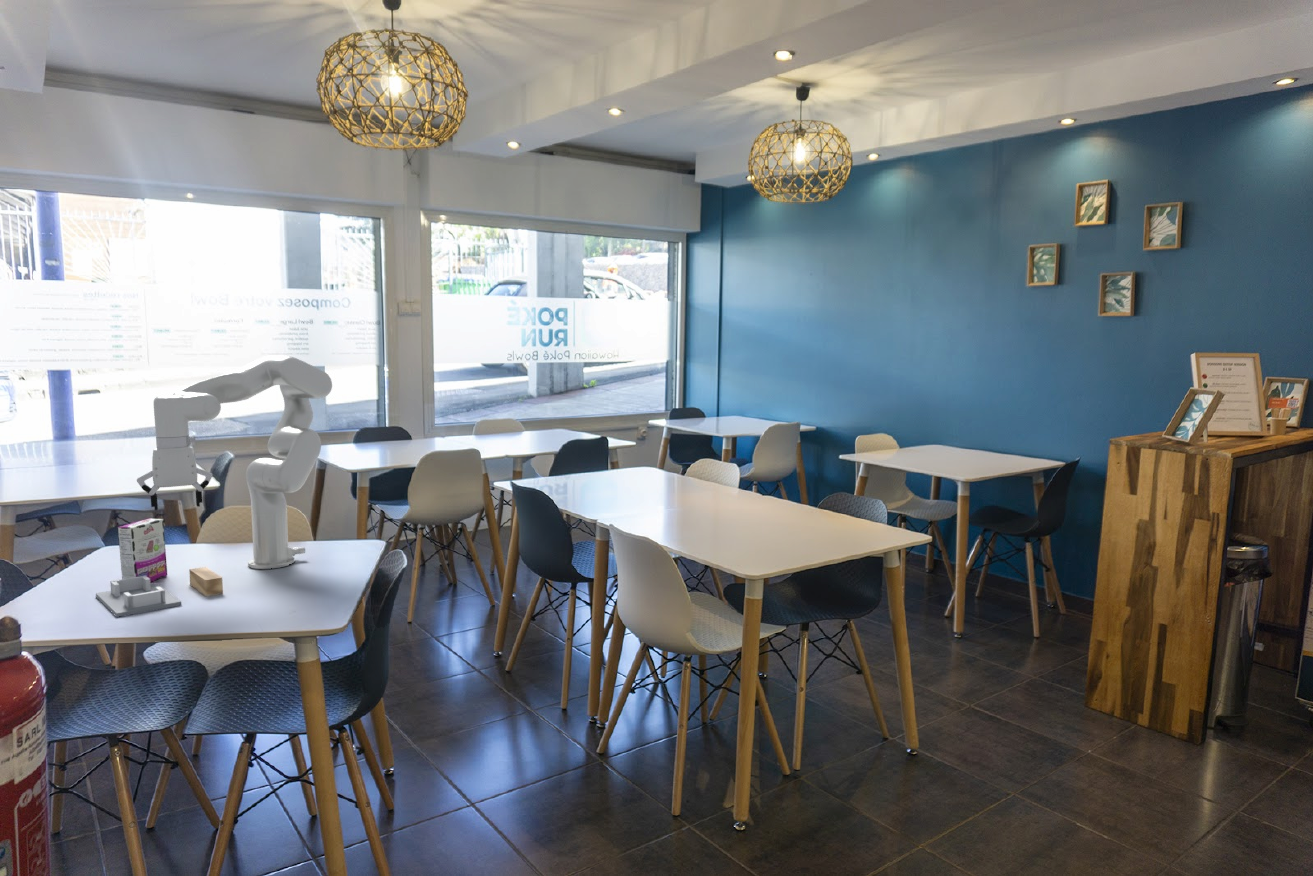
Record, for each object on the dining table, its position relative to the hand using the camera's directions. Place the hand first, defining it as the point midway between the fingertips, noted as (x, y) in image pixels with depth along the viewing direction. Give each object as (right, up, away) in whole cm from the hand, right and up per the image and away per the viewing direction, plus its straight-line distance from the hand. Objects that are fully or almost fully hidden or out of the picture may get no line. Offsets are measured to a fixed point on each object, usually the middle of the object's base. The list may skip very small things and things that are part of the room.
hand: (177, 507), depth 225 cm
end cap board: (-6, -23, -7) cm, 25 cm away
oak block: (+6, -22, +4) cm, 23 cm away
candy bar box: (-15, -21, +10) cm, 28 cm away
